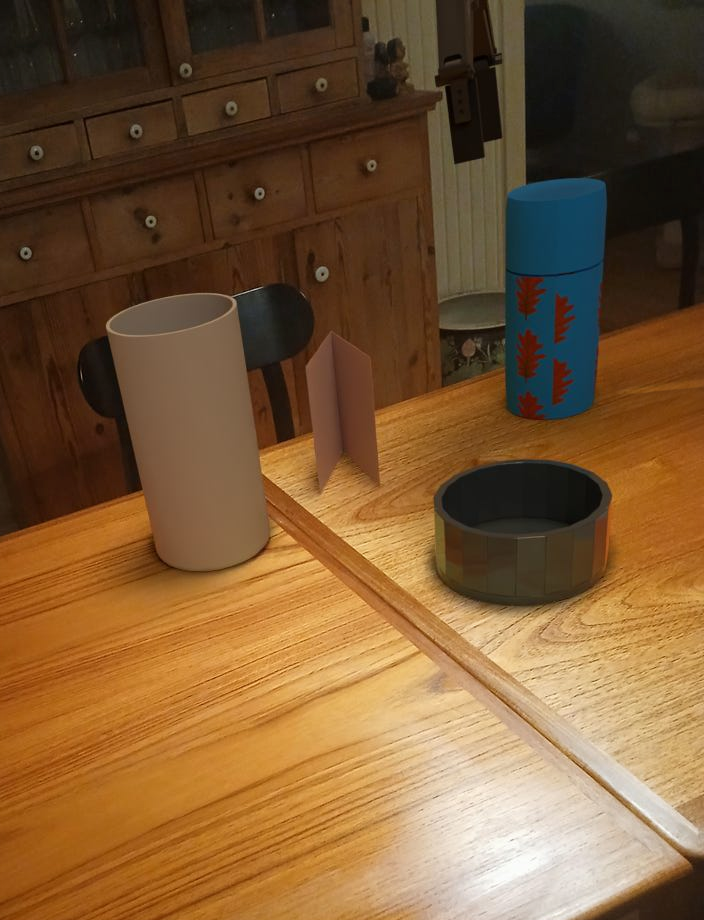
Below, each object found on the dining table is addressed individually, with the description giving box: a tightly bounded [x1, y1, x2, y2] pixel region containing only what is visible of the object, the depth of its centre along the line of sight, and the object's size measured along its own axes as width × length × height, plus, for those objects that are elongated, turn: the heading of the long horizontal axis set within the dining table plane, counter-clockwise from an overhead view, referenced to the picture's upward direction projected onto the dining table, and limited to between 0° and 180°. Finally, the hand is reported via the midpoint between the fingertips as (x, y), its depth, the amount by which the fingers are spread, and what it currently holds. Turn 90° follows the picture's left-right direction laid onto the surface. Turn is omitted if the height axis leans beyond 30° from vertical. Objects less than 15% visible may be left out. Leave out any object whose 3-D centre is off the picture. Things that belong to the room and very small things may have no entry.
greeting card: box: [305, 330, 381, 495], centre depth 112 cm, size 11×7×15 cm, turn 161°
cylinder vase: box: [105, 292, 271, 572], centre depth 100 cm, size 12×12×25 cm
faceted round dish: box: [432, 458, 613, 607], centre depth 92 cm, size 16×16×7 cm
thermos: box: [504, 177, 608, 420], centre depth 116 cm, size 11×11×25 cm
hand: (479, 150), depth 96 cm, fingers open, 13 cm apart
